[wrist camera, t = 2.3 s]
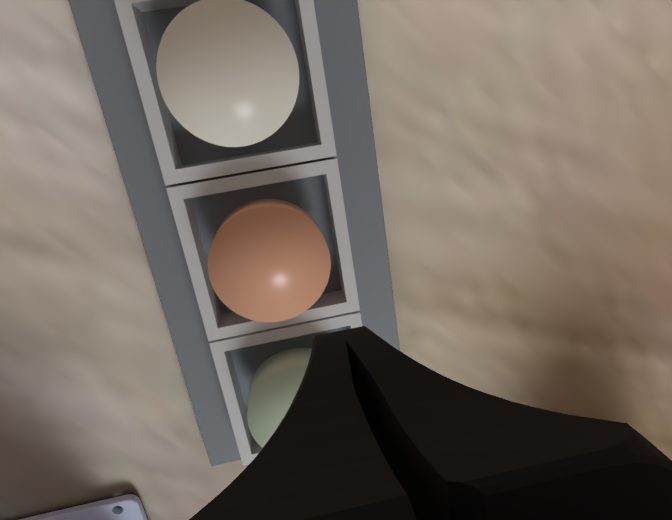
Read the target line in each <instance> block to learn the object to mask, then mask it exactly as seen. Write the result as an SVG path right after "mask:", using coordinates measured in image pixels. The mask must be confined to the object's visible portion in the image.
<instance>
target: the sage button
mask: <svg viewBox="0 0 672 520" xmlns="http://www.w3.org/2000/svg"><path fill="white" fill-rule="evenodd" d="M311 351H312V348H304V347H303V348H292V349H287V350H284V351H281V352H279V353H276V354H275V355H273V356H271V357H270V358H268V359H267V360H266V361H264V362H263V363H262V364H261V365H260V366H259V368H258V369H257V370H256V372H255V373H254V375H253V377H252V379H251V383H250V386H249V396H248V411H247V421H248V427H249V430H250V432H251V434H252V436H253V438H254V439H255V441H256V442H257V443H258V444H259V445H260V446H261V447H262V448H263V447H264V446H265V444H266V443H267V442H268V440H269V439H270V437H271V436H272V435H273V433H274V432H275V430H276V429H277V427H278V426H279V424H280V423H281V421H282V419H283V418H284V416H285V414H286V413H287V411H288V409H289V407H290V405H291V403H292V402H293V399H294V397H295V395H296V393H297V391H298V389H299V386H300V384H301V382H302V380H303V377H304V374H305V371H306V368H307V366H308V363H309V359H310V355H311Z"/></svg>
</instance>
